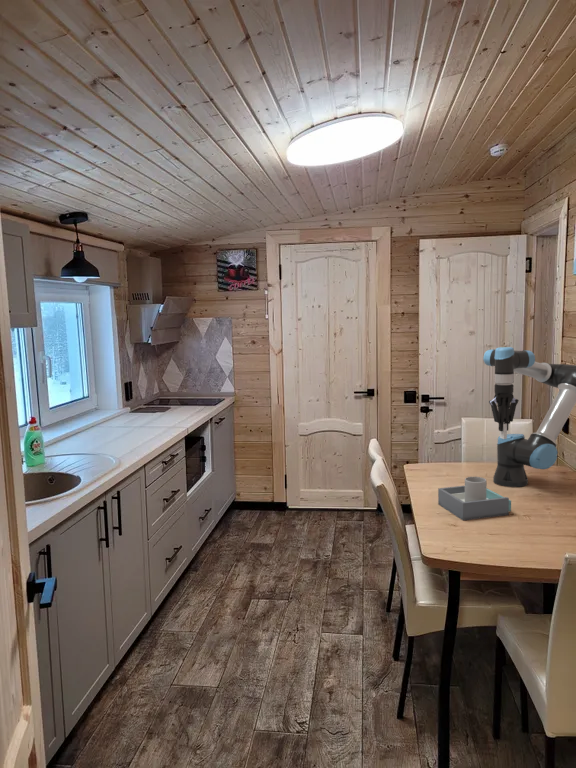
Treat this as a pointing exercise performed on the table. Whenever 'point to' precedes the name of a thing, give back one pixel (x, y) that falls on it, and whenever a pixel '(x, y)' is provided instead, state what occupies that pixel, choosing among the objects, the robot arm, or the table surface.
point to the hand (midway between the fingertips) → (503, 438)
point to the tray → (489, 495)
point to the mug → (475, 488)
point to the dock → (471, 505)
